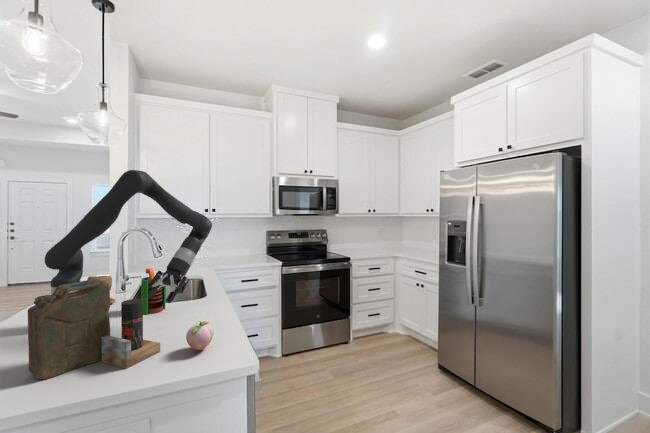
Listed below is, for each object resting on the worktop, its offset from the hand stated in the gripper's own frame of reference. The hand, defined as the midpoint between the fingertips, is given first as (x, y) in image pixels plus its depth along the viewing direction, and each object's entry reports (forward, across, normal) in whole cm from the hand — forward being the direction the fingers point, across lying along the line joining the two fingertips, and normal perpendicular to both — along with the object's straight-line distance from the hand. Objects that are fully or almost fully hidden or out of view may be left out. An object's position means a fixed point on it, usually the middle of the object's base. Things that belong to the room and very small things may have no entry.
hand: (158, 300), depth 114 cm
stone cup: (+4, -62, +30) cm, 69 cm away
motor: (-1, -28, +30) cm, 41 cm away
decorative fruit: (+11, +21, +7) cm, 25 cm away
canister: (+27, -8, -8) cm, 29 cm away
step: (+19, +4, -1) cm, 20 cm away
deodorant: (+17, +3, -3) cm, 17 cm away
